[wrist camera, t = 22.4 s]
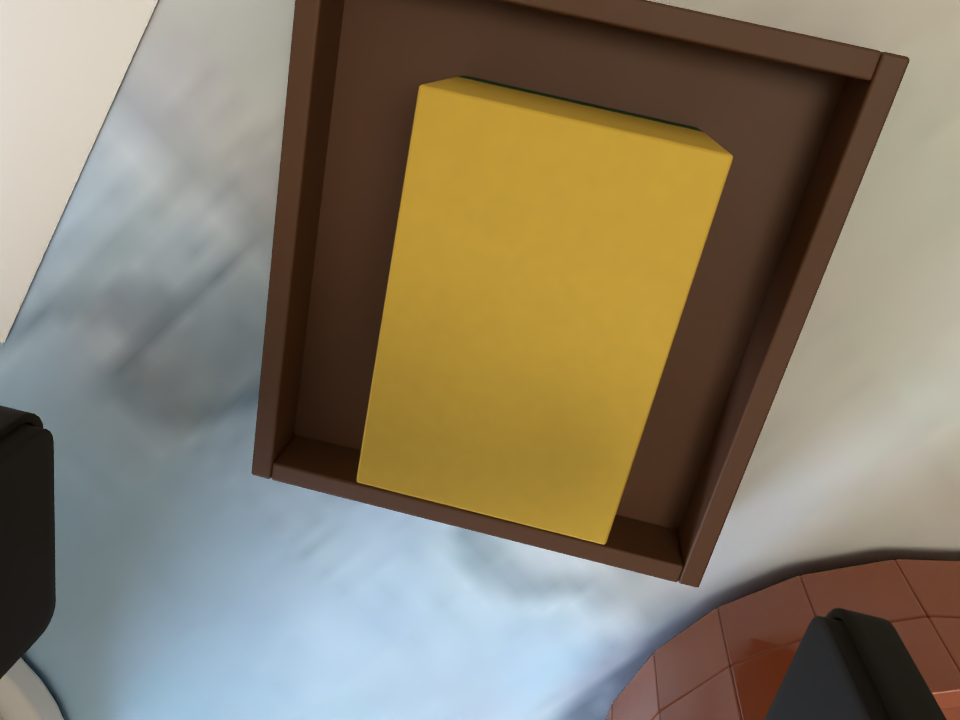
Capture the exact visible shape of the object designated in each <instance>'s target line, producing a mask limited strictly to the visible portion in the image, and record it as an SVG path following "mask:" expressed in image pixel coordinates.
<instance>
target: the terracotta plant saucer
mask: <svg viewBox="0 0 960 720" xmlns="http://www.w3.org/2000/svg"><path fill="white" fill-rule="evenodd" d="M834 608H842V609H847V610H851V611H855V612H859V613H863V614H867V615H871V616H876V617H880V618H884V619H886V620H888V621H890V622H891V624H892V625H893V626H894V627H895V629H896V631H897V633H898V634H899V636H900V638H901V640H902V641H903V643H904V645H905V647H906V648H907V650H908V652H909V654H910V656H911V657H912V659H913V661H914V663H915V664H916V666H917V668H918V670H919V671H920V673H921V675H922V677H923V678H924V680H925V682H926V684H927V686H928V687H929V689H930V691H931V693H932V694H933V696H934V698H935V700H936V701H937V703H938V705H939V707H940V708H941V710H942V712H943V714H944V716H945V717H946V719H947V720H960V561H940V560H909V559H896V560H895V561H894V560H886V561H880V562H875V563H869V564H863V565H857V566H851V567H845V568H839V569H833V570H827V571H821V572H815V573H809V574H804V575H801V577H800V576H795V577H793V578H790V579H788V580H785V581H783V582H780V583H778V584H775V585H773V586H770V587H768V588H765V589H762V590H760V591H757V592H755V593H752V594H750V595H747V596H745V597H742V598H740V599H737V600H735V601H732V602H730V603H727V604H724V605H722V606H719V607H718V608H715V609H714V610H713V611H711V612H710V613H708V614H707V615H705V616H704V617H703V618H701V619H700V620H698V621H697V622H695V623H694V624H692V625H691V626H690V627H688V628H687V629H685V630H684V631H682V632H681V633H680V634H678V635H677V636H675V637H674V638H672V639H671V640H670V641H668V642H667V643H665V644H664V645H662V646H661V647H660V648H658V649H657V650H655V652H654V653H653V654H652V655H651V656H650V657H649V659H648V660H647V661H646V662H645V663H644V665H643V666H642V667H641V668H640V670H639V671H638V672H637V673H636V675H635V676H634V677H633V678H632V679H631V681H630V682H629V683H628V684H627V686H626V687H625V688H624V689H623V690H622V692H621V693H620V694H619V695H618V697H617V698H616V699H615V700H614V701H613V704H611V706H610V709H609V712H608V715H607V717H606V720H764V719H765V717H766V715H767V713H768V711H769V709H770V706H771V704H772V702H773V700H774V698H775V696H776V694H777V691H778V689H779V687H780V685H781V683H782V681H783V679H784V676H785V674H786V672H787V670H788V668H789V666H790V664H791V662H792V659H793V657H794V655H795V653H796V651H797V649H798V647H799V644H800V642H801V640H802V638H803V636H804V634H805V632H806V630H807V627H808V625H809V624H810V622H811V620H812V619H813V618H815V617H816V616H822V617H826V615H827V614H828V613H829V612H830V611H831V610H832V609H834Z"/></svg>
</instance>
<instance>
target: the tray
mask: <svg viewBox="0 0 960 720" xmlns="http://www.w3.org/2000/svg"><path fill="white" fill-rule="evenodd" d="M908 63H909V58H908V57H905V56H901V55H896V54H892V53H887V52H880V51H878V50H873V49H869V48H864V47H859V46H855V45H850V44H846V43H841V42H836V41H832V40H827V39H822V38H818V37H813V36H809V35H804V34H799V33H795V32H790V31H785V30H781V29H776V28H772V27H767V26H762V25H758V24H753V23H748V22H744V21H739V20H735V19H730V18H725V17H721V16H716V15H711V14H707V13H702V12H698V11H693V10H688V9H684V8H679V7H674V6H670V5H665V4H661V3H656V2H651V1H647V0H295V11H294V22H293V33H292V43H291V54H290V65H289V76H288V87H287V97H286V108H285V119H284V130H283V141H282V151H281V162H280V173H279V184H278V195H277V205H276V216H275V227H274V238H273V248H272V259H271V270H270V281H269V292H268V302H267V313H266V324H265V335H264V346H263V356H262V367H261V378H260V389H259V400H258V410H257V421H256V432H255V443H254V454H253V464H252V474H253V475H256V476H260V477H264V478H267V479H270V478H271V477H272V480H275V481H279V482H283V483H287V484H291V485H295V486H299V487H303V488H307V489H311V490H315V491H319V492H323V493H327V494H331V495H335V496H338V497H342V498H346V499H350V500H354V501H358V502H362V503H366V504H370V505H374V506H378V507H382V508H386V509H390V510H394V511H398V512H402V513H405V514H409V515H413V516H417V517H421V518H425V519H429V520H433V521H437V522H441V523H445V524H449V525H453V526H457V527H461V528H465V529H469V530H473V531H476V532H480V533H484V534H488V535H492V536H496V537H500V538H504V539H508V540H512V541H516V542H520V543H524V544H528V545H532V546H536V547H540V548H543V549H547V550H551V551H555V552H559V553H563V554H567V555H571V556H575V557H579V558H583V559H587V560H591V561H595V562H599V563H603V564H607V565H611V566H614V567H618V568H622V569H626V570H630V571H634V572H638V573H642V574H646V575H650V576H654V577H658V578H662V579H666V580H670V581H674V582H677V581H679V583H681V584H685V585H689V586H693V587H699V585H700V582H701V580H702V577H703V575H704V572H705V570H706V568H707V565H708V563H709V560H710V558H711V555H712V553H713V550H714V548H715V545H716V543H717V540H718V538H719V535H720V533H721V530H722V528H723V525H724V523H725V520H726V518H727V515H728V513H729V510H730V508H731V505H732V503H733V500H734V498H735V495H736V493H737V490H738V488H739V485H740V483H741V480H742V478H743V475H744V473H745V470H746V468H747V465H748V463H749V460H750V458H751V455H752V453H753V450H754V448H755V445H756V443H757V440H758V438H759V435H760V433H761V430H762V428H763V425H764V423H765V420H766V418H767V415H768V413H769V410H770V408H771V405H772V403H773V400H774V398H775V395H776V393H777V390H778V388H779V385H780V383H781V380H782V378H783V375H784V373H785V370H786V368H787V365H788V363H789V360H790V358H791V355H792V353H793V350H794V348H795V345H796V343H797V340H798V338H799V335H800V333H801V330H802V328H803V325H804V323H805V320H806V318H807V315H808V313H809V310H810V308H811V305H812V303H813V300H814V298H815V295H816V293H817V290H818V288H819V285H820V283H821V280H822V278H823V275H824V273H825V270H826V268H827V265H828V263H829V260H830V258H831V255H832V253H833V250H834V248H835V245H836V243H837V240H838V238H839V235H840V233H841V230H842V228H843V225H844V223H845V220H846V218H847V215H848V213H849V210H850V208H851V205H852V203H853V201H854V198H855V196H856V193H857V191H858V188H859V186H860V183H861V181H862V178H863V176H864V173H865V171H866V168H867V166H868V163H869V161H870V158H871V156H872V153H873V151H874V148H875V146H876V143H877V141H878V138H879V136H880V133H881V131H882V128H883V126H884V123H885V121H886V118H887V116H888V113H889V111H890V108H891V106H892V103H893V101H894V98H895V96H896V93H897V91H898V88H899V86H900V83H901V81H902V78H903V76H904V73H905V71H906V68H907V66H908ZM463 75H466V76H470V77H475V78H479V79H483V80H488V81H492V82H497V83H501V84H506V85H510V86H515V87H519V88H524V89H528V90H532V91H537V92H541V93H546V94H550V95H555V96H559V97H564V98H568V99H573V100H577V101H582V102H586V103H590V104H595V105H599V106H604V107H608V108H613V109H617V110H622V111H626V112H631V113H635V114H639V115H644V116H648V117H653V118H657V119H662V120H666V121H671V122H675V123H680V124H684V125H688V126H693V127H697V128H699V129H700V130H701V131H702V132H704V133H705V134H707V135H708V136H709V137H710V138H712V139H713V140H714V141H715V142H717V143H718V144H719V145H720V146H721V147H723V148H724V149H725V150H726V151H728V152H729V153H730V154H731V155H733V160H732V163H731V166H730V169H729V172H728V175H727V178H726V181H725V184H724V187H723V190H722V193H721V196H720V199H719V202H718V205H717V208H716V211H715V214H714V218H713V221H712V224H711V227H710V230H709V233H708V236H707V239H706V242H705V245H704V248H703V251H702V254H701V257H700V260H699V263H698V266H697V269H696V272H695V275H694V278H693V281H692V284H691V287H690V290H689V293H688V296H687V299H686V303H685V306H684V309H683V312H682V315H681V318H680V321H679V324H678V327H677V330H676V333H675V336H674V339H673V342H672V345H671V348H670V351H669V354H668V357H667V360H666V363H665V366H664V369H663V372H662V375H661V378H660V381H659V384H658V388H657V391H656V394H655V397H654V400H653V403H652V406H651V409H650V412H649V415H648V418H647V421H646V424H645V427H644V430H643V433H642V436H641V439H640V442H639V445H638V448H637V451H636V454H635V457H634V460H633V463H632V466H631V469H630V473H629V476H628V479H627V482H626V485H625V488H624V491H623V494H622V497H621V500H620V503H619V506H618V509H617V512H616V515H615V518H614V521H613V524H612V527H611V530H610V533H609V536H608V539H607V542H606V544H599V543H595V542H591V541H587V540H583V539H579V538H575V537H571V536H567V535H563V534H560V533H556V532H552V531H548V530H544V529H540V528H536V527H532V526H528V525H524V524H520V523H516V522H512V521H508V520H504V519H500V518H496V517H492V516H488V515H484V514H480V513H476V512H473V511H469V510H465V509H461V508H457V507H453V506H449V505H445V504H441V503H437V502H433V501H429V500H425V499H421V498H417V497H413V496H409V495H405V494H401V493H397V492H393V491H389V490H386V489H382V488H378V487H374V486H370V485H366V484H362V483H358V482H357V473H358V466H359V460H360V454H361V448H362V441H363V435H364V429H365V423H366V416H367V410H368V404H369V397H370V391H371V385H372V379H373V372H374V366H375V360H376V354H377V347H378V341H379V335H380V328H381V322H382V316H383V310H384V303H385V297H386V291H387V285H388V278H389V272H390V266H391V259H392V253H393V247H394V241H395V234H396V228H397V222H398V216H399V209H400V203H401V197H402V190H403V184H404V178H405V172H406V165H407V159H408V153H409V147H410V140H411V134H412V128H413V122H414V115H415V109H416V103H417V96H418V90H419V87H420V85H423V84H427V83H432V82H436V81H440V80H444V79H449V78H453V77H459V76H463Z"/></svg>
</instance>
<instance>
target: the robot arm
mask: <svg viewBox="0 0 960 720" xmlns="http://www.w3.org/2000/svg"><path fill="white" fill-rule="evenodd" d="M55 602H56V595H55V516H54V442H53V436H52V434H51V432H50V431H48V430H47V429H43V423H42V421H41V419H40V417H38V416H37V415H35V414H33V413H29V412H24V411H20V410H16V409H12V408H8V407H4V406H0V720H64V719H63V716H62V714H61V712H60V710H59V707H58V705H57V703H56V701H55V700H54V698H53V697H52V695H51V694H50V692H49V691H48V689H47V688H46V686H45V685H44V683H43V682H42V680H41V679H40V678H39V677H38V676H37V675H36V673H35V672H34V671H33V670H32V669H31V668H30V667H29V666H28V665H27V663H26V662H25V661H24V660H23V659H22V658H21V657H22V656H23V654H24V653H25V652H26V651H27V650H28V649H29V648H30V647H31V646H32V645H33V644H34V643H35V642H36V640H37V639H38V638H39V637H40V636H41V635H42V634H43V632H44V631H45V630H46V628H47V626H48V625H49V623H50V621H51V618H52V616H53V613H54V609H55ZM764 720H947V719H946V717H945V716H944V714H943V712H942V710H941V708H940V707H939V705H938V703H937V701H936V700H935V698H934V696H933V694H932V693H931V691H930V689H929V687H928V686H927V684H926V682H925V680H924V678H923V677H922V675H921V673H920V671H919V670H918V668H917V666H916V664H915V663H914V661H913V659H912V657H911V656H910V654H909V652H908V650H907V648H906V647H905V645H904V643H903V641H902V640H901V638H900V636H899V634H898V633H897V631H896V629H895V627H894V626H893V625H892V624H891V622H890V621H888V620H886V619H884V618H880V617H876V616H871V615H867V614H863V613H859V612H855V611H851V610H847V609H842V608H834V609H832V610H831V611H830V612H829V613H828V614H827V615H826V617H822V616H816V617H815V618H813V619H812V620H811V622H810V624H809V625H808V627H807V630H806V632H805V634H804V636H803V638H802V640H801V642H800V644H799V647H798V649H797V651H796V653H795V655H794V657H793V659H792V662H791V664H790V666H789V668H788V670H787V672H786V674H785V676H784V679H783V681H782V683H781V685H780V687H779V689H778V691H777V694H776V696H775V698H774V700H773V702H772V704H771V706H770V709H769V711H768V713H767V715H766V717H765V719H764Z"/></svg>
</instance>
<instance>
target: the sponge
mask: <svg viewBox="0 0 960 720" xmlns="http://www.w3.org/2000/svg"><path fill="white" fill-rule="evenodd" d="M732 160H733V155H731V154H730V153H729V152H728V151H726V150H725V149H724V148H723V147H721V146H720V145H719V144H718V143H717V142H715V141H714V140H713V139H712V138H710V137H709V136H708V135H707V134H705V133H704V132H702V131H701V130H700V129H699V128H697V127H693V126H688V125H684V124H680V123H675V122H671V121H666V120H662V119H657V118H653V117H648V116H644V115H639V114H635V113H631V112H626V111H622V110H617V109H613V108H608V107H604V106H599V105H595V104H590V103H586V102H582V101H577V100H573V99H568V98H564V97H559V96H555V95H550V94H546V93H541V92H537V91H532V90H528V89H524V88H519V87H515V86H510V85H506V84H501V83H497V82H492V81H488V80H483V79H479V78H475V77H470V76H466V75H463V76H459V77H453V78H449V79H444V80H440V81H436V82H432V83H427V84H423V85H420V87H419V90H418V96H417V103H416V109H415V115H414V122H413V128H412V134H411V140H410V147H409V153H408V159H407V165H406V172H405V178H404V184H403V190H402V197H401V203H400V209H399V216H398V222H397V228H396V234H395V241H394V247H393V253H392V259H391V266H390V272H389V278H388V285H387V291H386V297H385V303H384V310H383V316H382V322H381V328H380V335H379V341H378V347H377V354H376V360H375V366H374V372H373V379H372V385H371V391H370V397H369V404H368V410H367V416H366V423H365V429H364V435H363V441H362V448H361V454H360V460H359V466H358V473H357V482H358V483H362V484H366V485H370V486H374V487H378V488H382V489H386V490H389V491H393V492H397V493H401V494H405V495H409V496H413V497H417V498H421V499H425V500H429V501H433V502H437V503H441V504H445V505H449V506H453V507H457V508H461V509H465V510H469V511H473V512H476V513H480V514H484V515H488V516H492V517H496V518H500V519H504V520H508V521H512V522H516V523H520V524H524V525H528V526H532V527H536V528H540V529H544V530H548V531H552V532H556V533H560V534H563V535H567V536H571V537H575V538H579V539H583V540H587V541H591V542H595V543H599V544H606V542H607V539H608V536H609V533H610V530H611V527H612V524H613V521H614V518H615V515H616V512H617V509H618V506H619V503H620V500H621V497H622V494H623V491H624V488H625V485H626V482H627V479H628V476H629V473H630V469H631V466H632V463H633V460H634V457H635V454H636V451H637V448H638V445H639V442H640V439H641V436H642V433H643V430H644V427H645V424H646V421H647V418H648V415H649V412H650V409H651V406H652V403H653V400H654V397H655V394H656V391H657V388H658V384H659V381H660V378H661V375H662V372H663V369H664V366H665V363H666V360H667V357H668V354H669V351H670V348H671V345H672V342H673V339H674V336H675V333H676V330H677V327H678V324H679V321H680V318H681V315H682V312H683V309H684V306H685V303H686V299H687V296H688V293H689V290H690V287H691V284H692V281H693V278H694V275H695V272H696V269H697V266H698V263H699V260H700V257H701V254H702V251H703V248H704V245H705V242H706V239H707V236H708V233H709V230H710V227H711V224H712V221H713V218H714V214H715V211H716V208H717V205H718V202H719V199H720V196H721V193H722V190H723V187H724V184H725V181H726V178H727V175H728V172H729V169H730V166H731V163H732Z"/></svg>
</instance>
